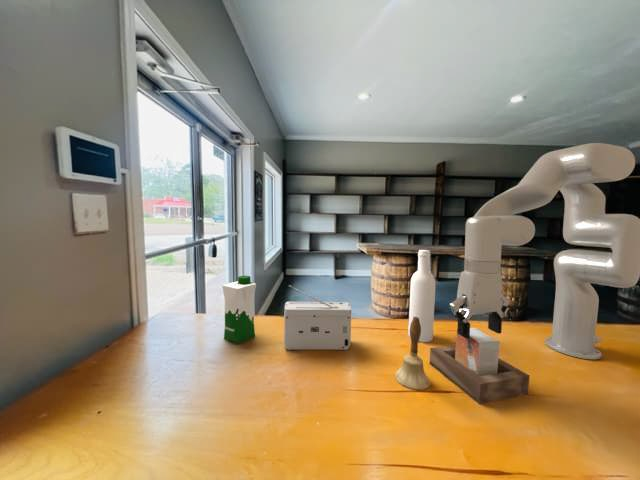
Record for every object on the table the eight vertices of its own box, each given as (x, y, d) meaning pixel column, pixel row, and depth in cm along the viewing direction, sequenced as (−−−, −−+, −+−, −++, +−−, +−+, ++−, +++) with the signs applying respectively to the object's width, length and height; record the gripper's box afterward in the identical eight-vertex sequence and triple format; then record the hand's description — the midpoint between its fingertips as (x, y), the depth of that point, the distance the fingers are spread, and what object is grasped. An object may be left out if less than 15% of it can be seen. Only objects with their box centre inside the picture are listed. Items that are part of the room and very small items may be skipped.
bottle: (435, 343, 82) (440, 252, 80) (409, 341, 84) (413, 251, 81) (429, 333, 90) (434, 249, 88) (406, 331, 91) (410, 248, 89)
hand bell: (428, 373, 66) (431, 313, 65) (431, 393, 58) (435, 326, 57) (395, 367, 68) (397, 309, 67) (394, 385, 60) (396, 320, 59)
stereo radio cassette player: (348, 339, 84) (349, 280, 83) (352, 352, 76) (354, 286, 74) (285, 339, 83) (285, 279, 82) (282, 352, 75) (282, 286, 74)
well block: (470, 357, 74) (471, 342, 73) (528, 394, 58) (529, 375, 58) (429, 363, 70) (430, 348, 70) (479, 404, 55) (480, 384, 54)
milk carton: (258, 335, 86) (258, 277, 84) (237, 346, 78) (237, 282, 77) (241, 329, 90) (240, 274, 89) (219, 339, 83) (218, 278, 81)
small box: (453, 366, 68) (456, 327, 67) (472, 364, 68) (475, 327, 68) (476, 385, 60) (479, 342, 59) (497, 383, 61) (500, 340, 60)
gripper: (495, 262, 68) (492, 323, 69) (441, 266, 64) (439, 331, 65) (524, 267, 61) (520, 335, 62) (465, 272, 57) (462, 345, 58)
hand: (479, 333), depth 64 cm, fingers open, 9 cm apart
